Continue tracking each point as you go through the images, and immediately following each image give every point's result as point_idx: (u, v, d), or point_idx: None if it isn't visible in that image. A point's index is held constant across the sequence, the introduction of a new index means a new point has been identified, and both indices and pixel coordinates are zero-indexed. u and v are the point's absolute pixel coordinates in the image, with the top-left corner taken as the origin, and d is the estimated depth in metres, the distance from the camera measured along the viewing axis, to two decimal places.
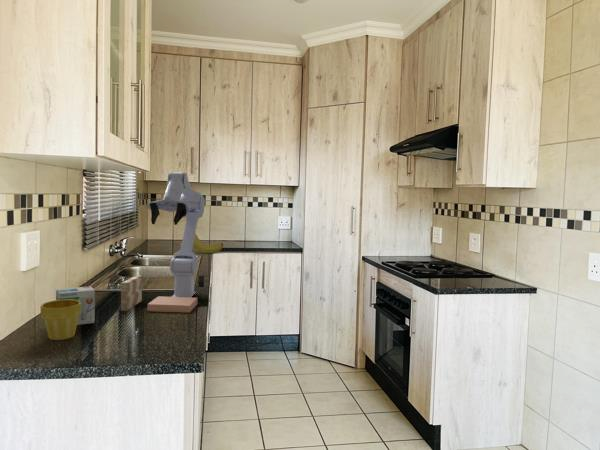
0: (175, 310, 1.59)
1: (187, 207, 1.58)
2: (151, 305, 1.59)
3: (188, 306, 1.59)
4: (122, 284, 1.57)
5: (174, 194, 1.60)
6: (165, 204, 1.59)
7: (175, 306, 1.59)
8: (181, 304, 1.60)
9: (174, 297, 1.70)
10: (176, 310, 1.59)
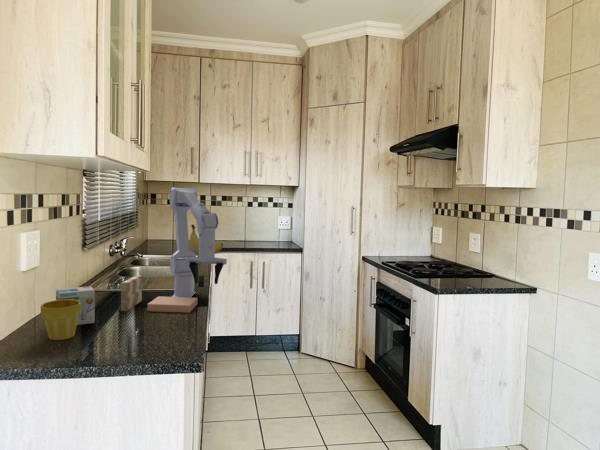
0: (175, 310, 1.59)
1: None
2: (151, 305, 1.59)
3: (188, 306, 1.59)
4: (122, 284, 1.57)
5: (209, 252, 1.61)
6: None
7: (175, 306, 1.59)
8: (181, 304, 1.60)
9: (174, 297, 1.70)
10: (176, 310, 1.59)
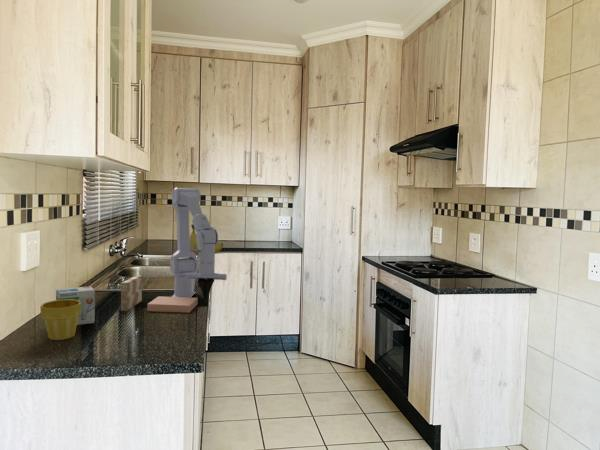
0: (175, 310, 1.59)
1: None
2: (151, 305, 1.59)
3: (188, 306, 1.59)
4: (122, 284, 1.57)
5: (209, 268, 1.62)
6: None
7: (175, 306, 1.59)
8: (181, 304, 1.60)
9: (174, 297, 1.70)
10: (176, 310, 1.59)
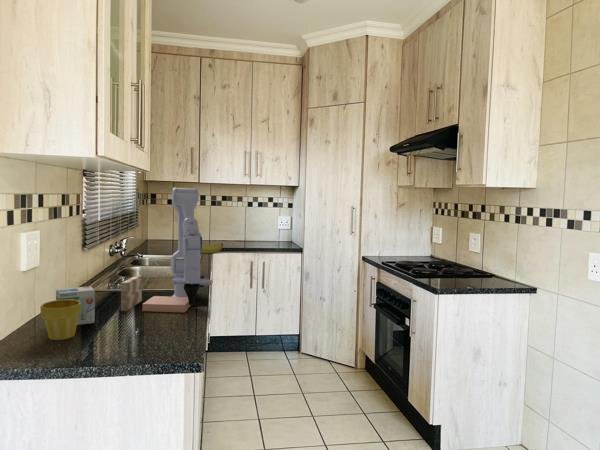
0: (170, 310, 1.59)
1: None
2: (146, 305, 1.59)
3: (183, 306, 1.59)
4: (122, 284, 1.57)
5: (194, 273, 1.62)
6: None
7: (170, 306, 1.59)
8: (176, 304, 1.60)
9: (169, 297, 1.70)
10: (171, 310, 1.59)
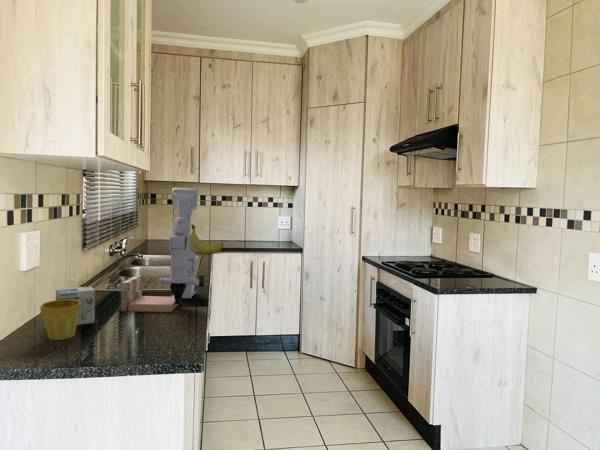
0: (156, 309, 1.59)
1: None
2: (132, 305, 1.58)
3: (169, 305, 1.59)
4: (122, 284, 1.57)
5: (181, 273, 1.62)
6: None
7: (156, 305, 1.59)
8: (162, 303, 1.60)
9: (156, 296, 1.69)
10: (157, 309, 1.59)
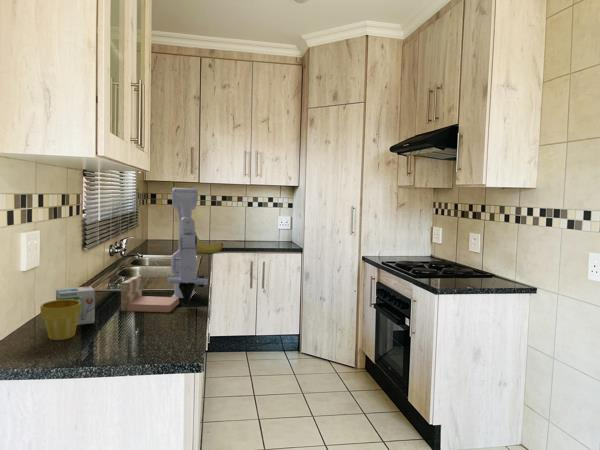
0: (155, 310, 1.59)
1: None
2: (131, 305, 1.58)
3: (168, 306, 1.58)
4: (122, 284, 1.57)
5: (190, 272, 1.62)
6: None
7: (155, 306, 1.58)
8: (161, 304, 1.60)
9: (155, 297, 1.69)
10: (156, 310, 1.59)
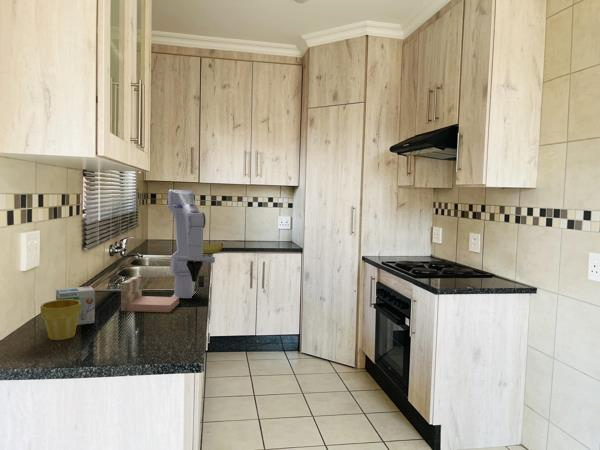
0: (155, 310, 1.59)
1: None
2: (131, 305, 1.58)
3: (168, 306, 1.58)
4: (122, 284, 1.57)
5: (197, 250, 1.64)
6: None
7: (155, 306, 1.58)
8: (161, 304, 1.60)
9: (155, 297, 1.69)
10: (156, 310, 1.59)
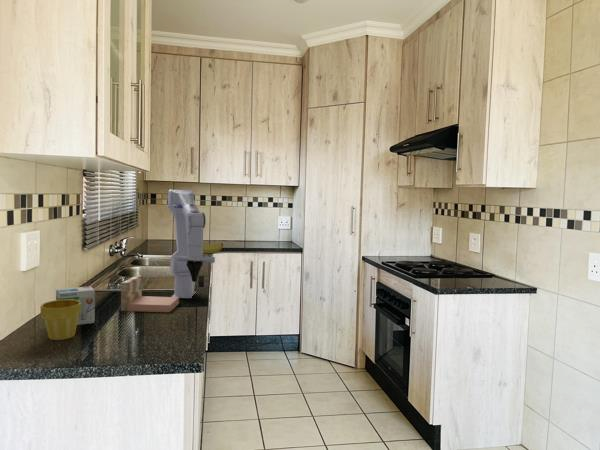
0: (155, 310, 1.59)
1: None
2: (131, 305, 1.58)
3: (168, 306, 1.58)
4: (122, 284, 1.57)
5: (197, 250, 1.64)
6: None
7: (155, 306, 1.58)
8: (161, 304, 1.60)
9: (155, 297, 1.69)
10: (156, 310, 1.59)
